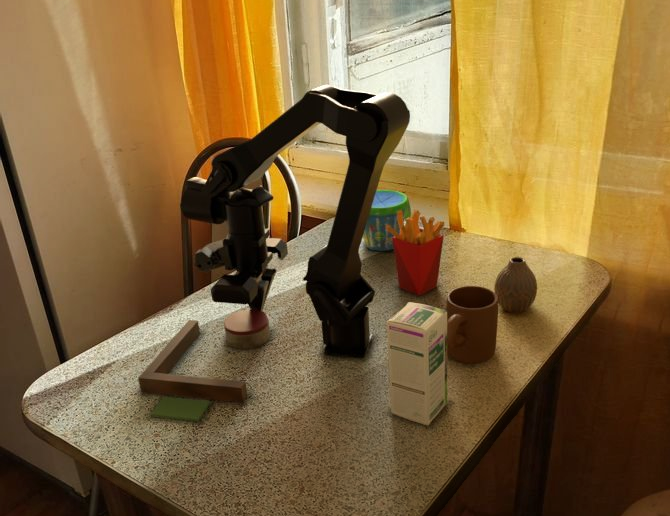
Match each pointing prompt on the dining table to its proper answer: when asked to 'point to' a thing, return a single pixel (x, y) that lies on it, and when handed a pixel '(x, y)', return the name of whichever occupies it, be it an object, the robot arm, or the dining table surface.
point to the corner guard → (187, 386)
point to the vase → (516, 286)
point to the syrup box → (418, 362)
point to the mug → (471, 324)
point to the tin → (247, 329)
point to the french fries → (417, 252)
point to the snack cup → (385, 219)
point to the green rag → (180, 409)
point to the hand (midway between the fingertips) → (257, 314)
